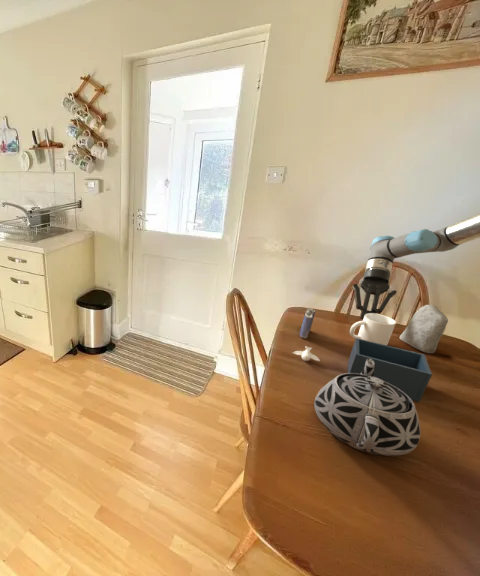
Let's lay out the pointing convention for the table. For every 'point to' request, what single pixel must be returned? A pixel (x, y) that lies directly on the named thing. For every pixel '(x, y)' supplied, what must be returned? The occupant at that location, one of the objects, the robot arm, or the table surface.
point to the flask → (307, 323)
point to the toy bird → (306, 354)
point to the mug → (374, 328)
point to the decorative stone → (425, 329)
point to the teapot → (369, 413)
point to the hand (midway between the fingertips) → (364, 327)
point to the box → (392, 366)
